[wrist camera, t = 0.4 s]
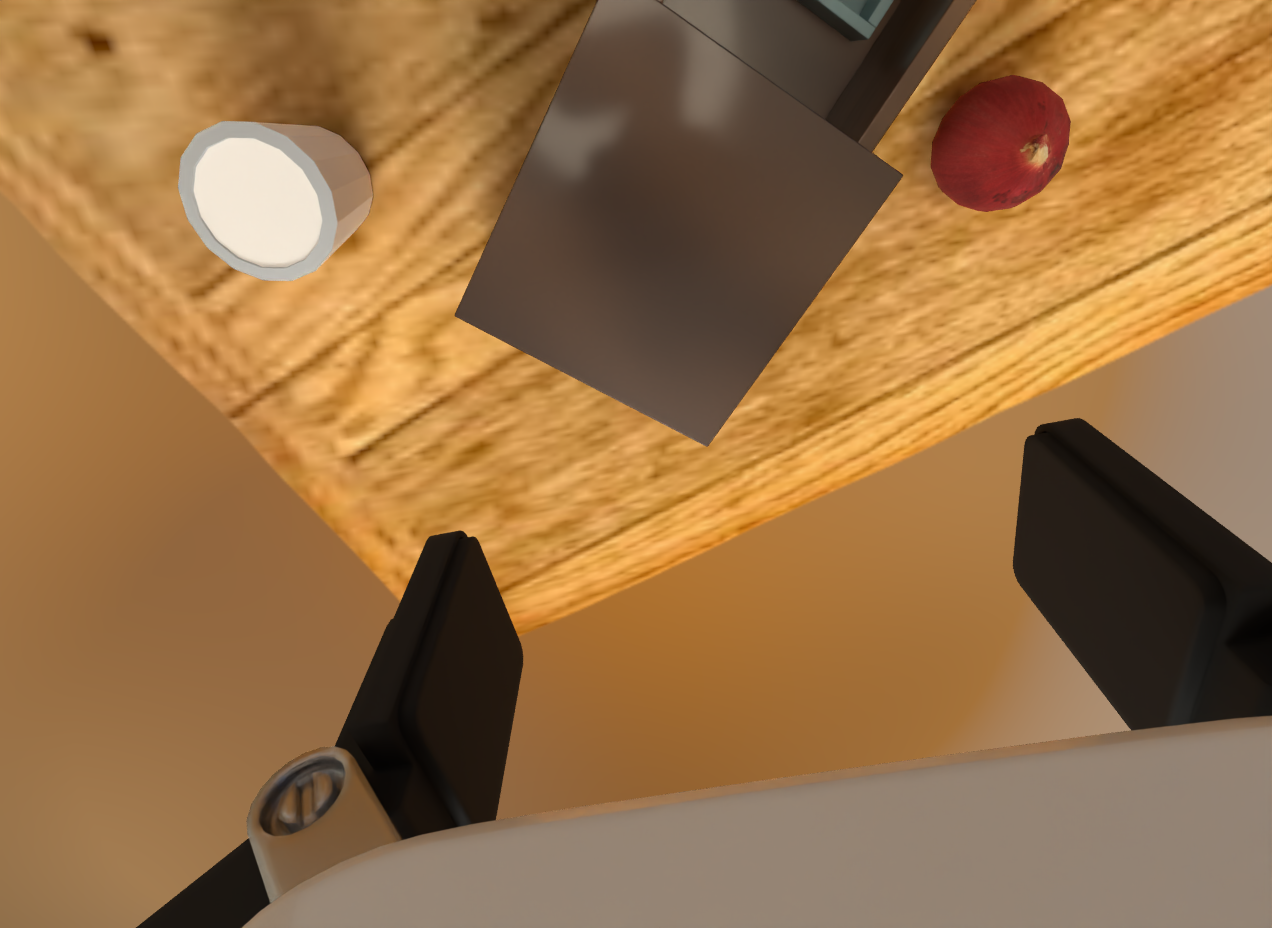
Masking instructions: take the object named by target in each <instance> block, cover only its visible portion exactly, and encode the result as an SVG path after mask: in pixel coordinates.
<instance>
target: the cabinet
mask: <svg viewBox="0 0 1272 928" xmlns="http://www.w3.org/2000/svg"><path fill="white" fill-rule="evenodd" d="M902 177H903V174H901V173H900V172H898V171H897V170H896V169H894V168H893V167H891V166H890V165H889V164H887V163H886V162H884V161H883V160H882V159H880V158H879V157H877V156H876V155H875V154H873V153H872V152H870V151H869V150H867V149H866V148H865V147H863V146H862V145H860V144H859V143H858V142H856V141H855V140H853V139H852V138H851V137H849V136H848V135H846V134H845V133H844V132H842V131H841V130H839V129H838V128H837V127H835V126H834V125H832V124H831V123H830V122H828V121H827V120H825V119H824V118H823V117H821V116H820V115H818V114H817V113H816V112H814V111H813V110H811V109H810V108H809V107H807V106H806V105H804V104H803V103H802V102H800V101H799V100H797V99H796V98H795V97H793V96H792V95H790V94H789V93H787V92H786V91H785V90H783V89H782V88H780V87H779V86H778V85H776V84H775V83H773V82H772V81H771V80H769V79H768V78H766V77H765V76H764V75H762V74H761V73H759V72H758V71H757V70H755V69H754V68H752V67H751V66H750V65H748V64H747V63H745V62H744V61H743V60H741V59H740V58H738V57H737V56H736V55H734V54H733V53H731V52H730V51H729V50H727V49H726V48H724V47H723V46H722V45H720V44H719V43H717V42H716V41H715V40H713V39H712V38H710V37H709V36H707V35H706V34H705V33H703V32H702V31H700V30H699V29H698V28H696V27H695V26H693V25H692V24H691V23H689V22H688V21H686V20H685V19H684V18H682V17H681V16H679V15H678V14H677V13H675V12H674V11H672V10H671V9H670V8H668V7H667V6H665V5H664V4H663V3H661V2H660V1H658V0H597V2H596V4H595V6H594V8H593V11H592V13H591V15H590V17H589V19H588V22H587V24H586V26H585V28H584V30H583V33H582V35H581V37H580V39H579V41H578V44H577V46H576V48H575V50H574V53H573V55H572V57H571V59H570V61H569V64H568V66H567V68H566V70H565V72H564V75H563V77H562V79H561V81H560V83H559V86H558V88H557V90H556V92H555V94H554V97H553V99H552V101H551V103H550V105H549V108H548V110H547V112H546V114H545V116H544V119H543V121H542V123H541V125H540V128H539V130H538V132H537V134H536V136H535V139H534V141H533V143H532V145H531V147H530V150H529V152H528V154H527V156H526V158H525V161H524V163H523V165H522V167H521V169H520V172H519V174H518V176H517V178H516V180H515V183H514V185H513V187H512V189H511V192H510V194H509V196H508V198H507V200H506V203H505V205H504V207H503V209H502V211H501V214H500V216H499V218H498V220H497V222H496V225H495V227H494V229H493V231H492V233H491V236H490V238H489V240H488V242H487V244H486V247H485V249H484V251H483V253H482V256H481V258H480V260H479V262H478V264H477V267H476V269H475V271H474V273H473V275H472V278H471V280H470V282H469V284H468V286H467V289H466V291H465V293H464V295H463V297H462V300H461V302H460V304H459V306H458V308H457V311H456V313H455V317H457V318H459V319H461V320H463V321H465V322H467V323H469V324H471V325H473V326H475V327H477V328H479V329H480V330H482V331H484V332H486V333H488V334H490V335H492V336H494V337H496V338H498V339H500V340H502V341H504V342H506V343H508V344H509V345H511V346H513V347H515V348H517V349H519V350H521V351H523V352H525V353H527V354H529V355H531V356H533V357H535V358H537V359H538V360H540V361H542V362H544V363H546V364H548V365H550V366H552V367H554V368H556V369H558V370H560V371H562V372H564V373H566V374H567V375H569V376H571V377H573V378H575V379H577V380H579V381H581V382H583V383H585V384H587V385H589V386H591V387H593V388H595V389H596V390H598V391H600V392H602V393H604V394H606V395H608V396H610V397H612V398H614V399H616V400H618V401H620V402H622V403H624V404H625V405H627V406H629V407H631V408H633V409H635V410H637V411H639V412H641V413H643V414H645V415H647V416H649V417H651V418H653V419H654V420H656V421H658V422H660V423H662V424H664V425H666V426H668V427H670V428H672V429H674V430H676V431H678V432H680V433H682V434H683V435H685V436H687V437H689V438H691V439H693V440H695V441H697V442H699V443H701V444H703V445H705V446H707V447H708V446H709V444H710V443H711V441H712V440H713V439H714V437H715V436H716V434H717V433H718V432H719V430H720V429H721V427H722V426H723V425H724V423H725V422H726V421H727V419H728V418H729V416H730V415H731V414H732V412H733V411H734V409H735V408H736V407H737V405H738V404H739V403H740V401H741V400H742V398H743V397H744V396H745V394H746V393H747V391H748V390H749V389H750V387H751V386H752V385H753V383H754V382H755V380H756V379H757V378H758V376H759V375H760V373H761V372H762V371H763V369H764V368H765V367H766V365H767V364H768V362H769V361H770V360H771V358H772V357H773V355H774V354H775V353H776V351H777V350H778V349H779V347H780V346H781V344H782V343H783V342H784V340H785V339H786V337H787V336H788V335H789V333H790V332H791V331H792V329H793V328H794V326H795V325H796V324H797V322H798V321H799V319H800V318H801V317H802V315H803V314H804V313H805V311H806V310H807V308H808V307H809V306H810V304H811V303H812V301H813V300H814V299H815V297H816V296H817V295H818V293H819V292H820V290H821V289H822V288H823V286H824V285H825V283H826V282H827V281H828V279H829V278H830V277H831V275H832V274H833V272H834V271H835V270H836V268H837V267H838V265H839V264H840V263H841V261H842V260H843V259H844V257H845V256H846V254H847V253H848V252H849V250H850V249H851V247H852V246H853V245H854V243H855V242H856V241H857V239H858V238H859V236H860V235H861V234H862V232H863V231H864V229H865V228H866V227H867V225H868V224H869V223H870V221H871V220H872V218H873V217H874V216H875V214H876V213H877V211H878V210H879V209H880V207H881V206H882V204H883V203H884V202H885V200H886V199H887V198H888V196H889V195H890V193H891V192H892V191H893V189H894V188H895V186H896V185H897V184H898V182H899V181H900V180H901V178H902Z"/></svg>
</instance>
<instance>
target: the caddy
mask: <svg viewBox="0 0 1272 928" xmlns="http://www.w3.org/2000/svg"><path fill="white" fill-rule="evenodd" d="M797 1H798V2H800V3H801V4H802V5H804V6H805V7H806V8H808V9H809V10H810V11H812V12H813V13H814V14H816V15H817V16H818V17H819V18H821V19H822V20H823V21H825V22H826V23H827V24H829V25H830V26H831V27H833V28H834V29H835V30H837V31H838V32H839V33H840V34H842V35H843V36H844V37H846V38H847V39H848V40H850V41H859V40H867V39H869V38H870V37H871V35H872V34H873V32H874V30H875V28H876V27H877V26H878V24H879V23H880V21H881V20H882V18H883V16H884V15H885V13H886V12H887V10H888V9H889V7H890V5H891V4H892V2H893V1H894V0H797Z"/></svg>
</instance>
